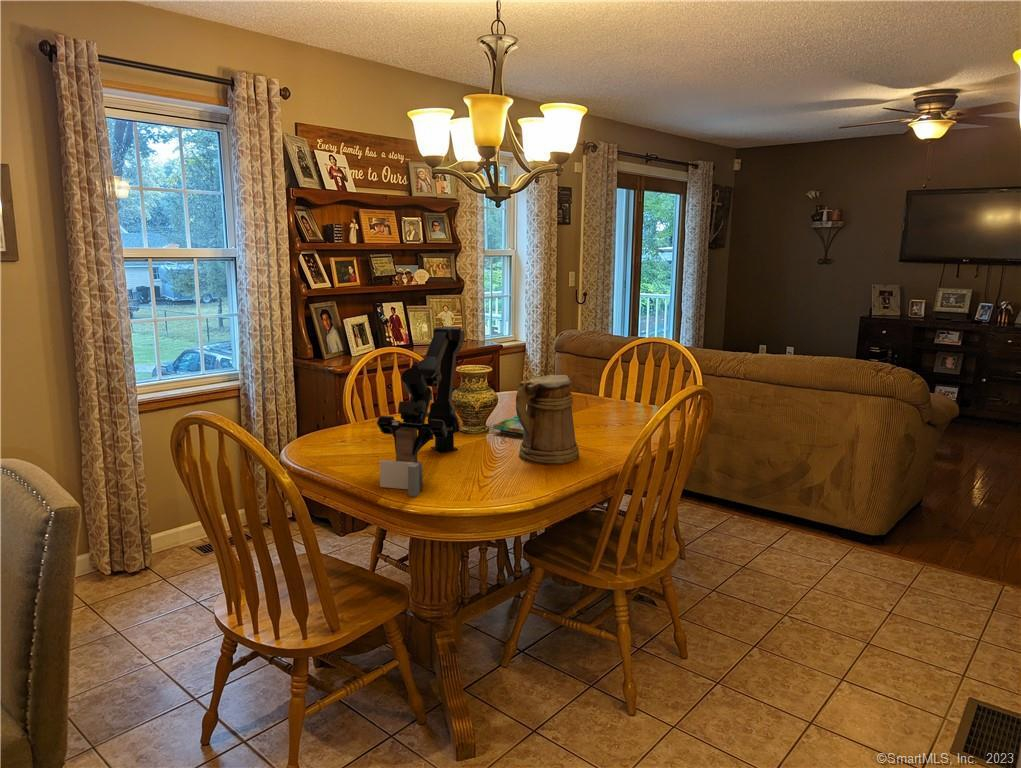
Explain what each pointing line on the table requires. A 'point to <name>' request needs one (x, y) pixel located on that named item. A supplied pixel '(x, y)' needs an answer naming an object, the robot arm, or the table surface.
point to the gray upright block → (413, 480)
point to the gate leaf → (397, 474)
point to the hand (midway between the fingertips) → (404, 454)
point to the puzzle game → (510, 426)
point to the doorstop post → (406, 444)
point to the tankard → (546, 420)
